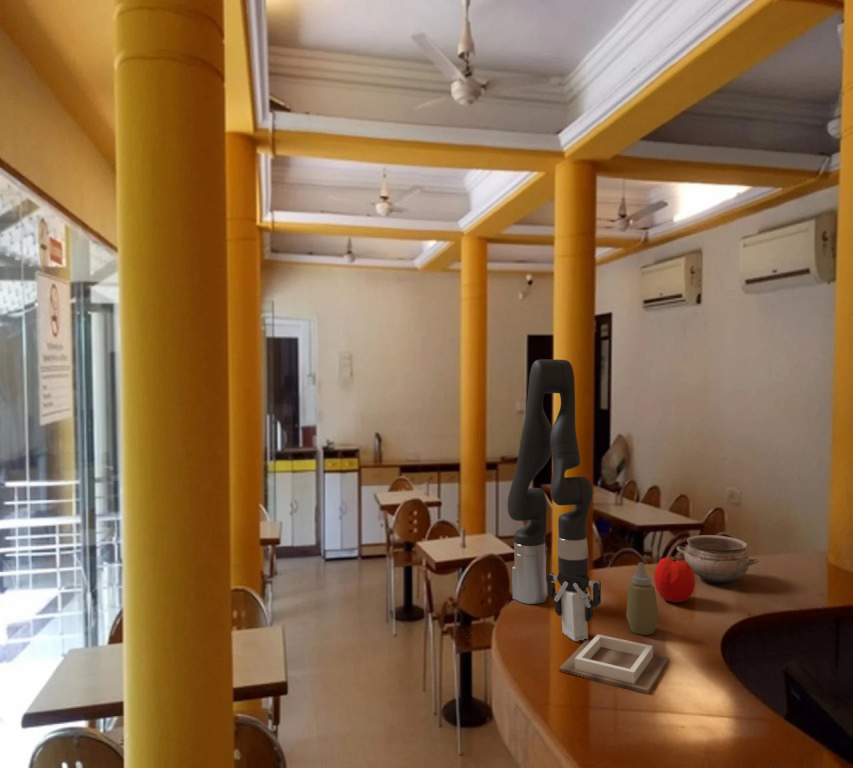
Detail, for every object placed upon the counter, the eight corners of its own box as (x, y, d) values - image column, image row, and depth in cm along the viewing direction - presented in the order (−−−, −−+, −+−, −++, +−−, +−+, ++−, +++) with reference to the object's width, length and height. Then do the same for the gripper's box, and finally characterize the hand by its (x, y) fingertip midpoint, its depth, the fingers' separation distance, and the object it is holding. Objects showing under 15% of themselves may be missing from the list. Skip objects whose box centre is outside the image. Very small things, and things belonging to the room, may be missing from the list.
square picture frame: (574, 669, 148) (574, 658, 148) (597, 644, 161) (597, 634, 161) (634, 683, 140) (633, 672, 140) (653, 656, 153) (652, 645, 153)
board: (559, 671, 149) (559, 668, 149) (586, 642, 164) (586, 639, 164) (648, 694, 137) (648, 690, 137) (669, 660, 152) (668, 657, 152)
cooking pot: (666, 580, 208) (665, 542, 208) (687, 565, 222) (687, 530, 222) (750, 597, 191) (750, 556, 191) (767, 580, 205) (767, 542, 205)
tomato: (672, 591, 198) (671, 548, 198) (705, 604, 187) (704, 558, 187) (643, 598, 193) (643, 554, 193) (676, 611, 182) (675, 565, 182)
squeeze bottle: (658, 626, 172) (657, 559, 172) (659, 639, 164) (657, 568, 164) (626, 623, 175) (625, 557, 174) (625, 635, 167) (624, 566, 167)
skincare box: (588, 639, 165) (588, 592, 165) (573, 642, 164) (572, 595, 163) (575, 630, 171) (574, 585, 171) (560, 633, 170) (559, 587, 169)
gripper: (540, 554, 168) (542, 617, 168) (595, 562, 160) (596, 628, 160) (552, 547, 174) (553, 608, 174) (604, 554, 166) (606, 618, 166)
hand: (574, 617), depth 167 cm, fingers closed on skincare box, 7 cm apart
